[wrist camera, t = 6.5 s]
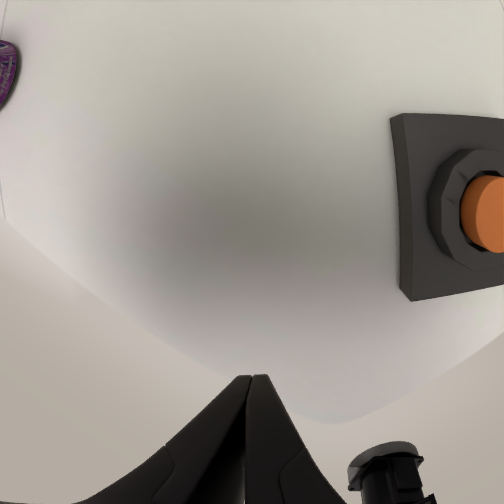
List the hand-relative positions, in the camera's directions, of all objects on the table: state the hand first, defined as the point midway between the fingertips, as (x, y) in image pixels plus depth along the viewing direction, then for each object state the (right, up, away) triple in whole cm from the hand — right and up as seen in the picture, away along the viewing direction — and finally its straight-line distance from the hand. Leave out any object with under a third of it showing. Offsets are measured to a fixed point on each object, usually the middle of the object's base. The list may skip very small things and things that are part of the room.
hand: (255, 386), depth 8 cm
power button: (+13, +6, +6) cm, 16 cm away
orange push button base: (+13, +7, +9) cm, 18 cm away
